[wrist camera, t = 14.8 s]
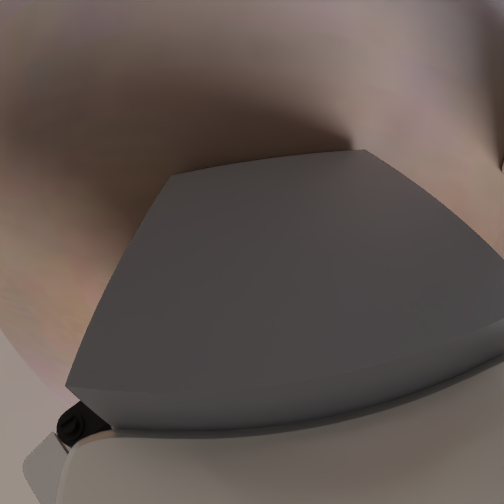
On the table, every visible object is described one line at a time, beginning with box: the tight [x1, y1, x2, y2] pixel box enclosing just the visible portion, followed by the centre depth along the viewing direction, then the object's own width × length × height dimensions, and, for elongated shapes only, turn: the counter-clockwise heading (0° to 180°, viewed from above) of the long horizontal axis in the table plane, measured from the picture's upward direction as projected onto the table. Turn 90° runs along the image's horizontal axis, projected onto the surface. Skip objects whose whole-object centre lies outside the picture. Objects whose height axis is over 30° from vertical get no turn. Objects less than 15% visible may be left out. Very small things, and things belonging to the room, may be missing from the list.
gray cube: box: [65, 150, 504, 431], centre depth 9 cm, size 8×8×9 cm
